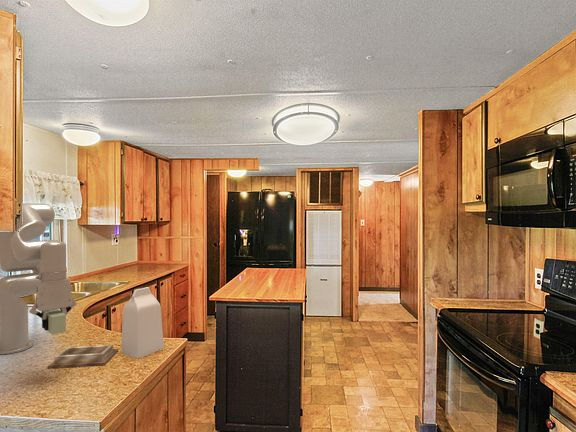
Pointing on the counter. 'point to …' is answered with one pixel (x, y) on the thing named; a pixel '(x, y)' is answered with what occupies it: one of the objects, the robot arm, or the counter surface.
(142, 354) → the milk
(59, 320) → the bar
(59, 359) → the brown rectangular tray
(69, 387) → the counter surface
